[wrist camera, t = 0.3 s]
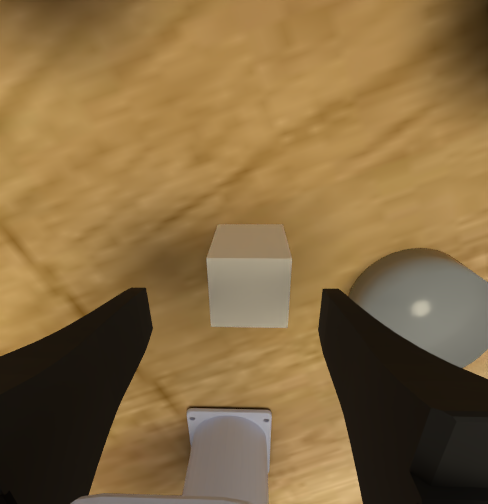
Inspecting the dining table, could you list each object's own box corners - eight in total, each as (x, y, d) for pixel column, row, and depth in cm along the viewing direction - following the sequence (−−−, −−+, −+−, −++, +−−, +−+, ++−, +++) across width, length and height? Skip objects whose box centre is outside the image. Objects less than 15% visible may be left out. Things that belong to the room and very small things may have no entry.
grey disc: (448, 346, 25) (477, 380, 21) (339, 345, 25) (352, 378, 22) (484, 247, 21) (526, 271, 18) (355, 247, 21) (373, 270, 18)
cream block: (280, 280, 22) (287, 327, 17) (220, 280, 22) (211, 326, 17) (282, 224, 20) (292, 258, 15) (218, 223, 21) (206, 258, 16)
